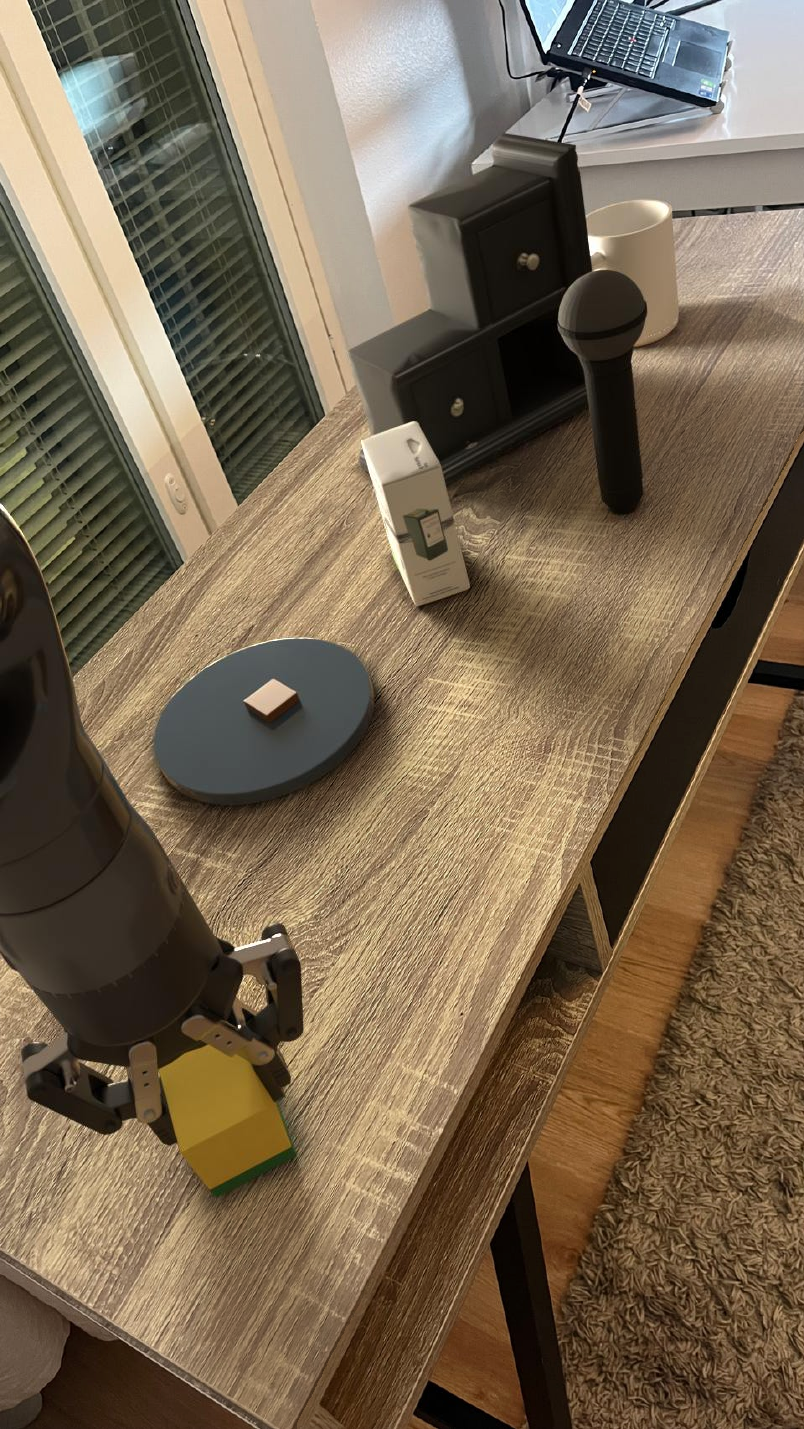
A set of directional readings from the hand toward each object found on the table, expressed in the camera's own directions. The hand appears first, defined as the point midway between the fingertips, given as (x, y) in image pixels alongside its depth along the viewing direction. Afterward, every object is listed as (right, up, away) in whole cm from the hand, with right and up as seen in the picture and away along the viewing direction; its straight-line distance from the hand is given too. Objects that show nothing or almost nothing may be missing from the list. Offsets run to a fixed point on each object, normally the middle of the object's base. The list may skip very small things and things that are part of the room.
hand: (230, 1108), depth 56 cm
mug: (+33, +61, +58) cm, 91 cm away
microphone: (+28, +38, +35) cm, 58 cm away
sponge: (0, -1, +1) cm, 1 cm away
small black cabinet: (+17, +48, +50) cm, 71 cm away
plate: (-1, +20, +25) cm, 32 cm away
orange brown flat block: (-1, +21, +24) cm, 32 cm away
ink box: (+11, +32, +34) cm, 49 cm away
